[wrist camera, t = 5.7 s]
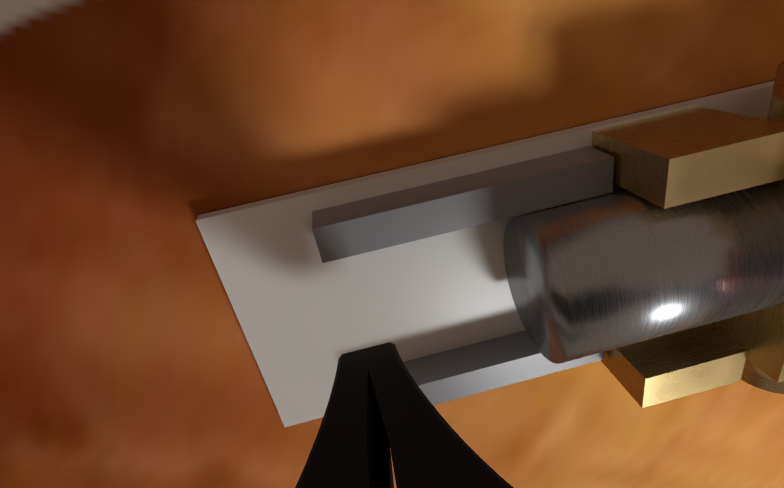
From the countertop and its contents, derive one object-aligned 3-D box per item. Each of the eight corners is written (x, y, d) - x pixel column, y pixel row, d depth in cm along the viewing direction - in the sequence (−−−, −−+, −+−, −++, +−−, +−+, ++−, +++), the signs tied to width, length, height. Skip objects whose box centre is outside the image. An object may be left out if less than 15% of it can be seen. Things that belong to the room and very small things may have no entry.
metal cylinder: (688, 285, 15) (815, 328, 11) (516, 330, 14) (581, 392, 10) (677, 165, 14) (808, 165, 10) (494, 210, 13) (556, 227, 10)
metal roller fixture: (776, 288, 17) (819, 311, 15) (285, 418, 16) (283, 456, 14) (834, 66, 13) (898, 70, 12) (198, 214, 12) (183, 240, 11)
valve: (779, 311, 17) (961, 421, 12) (586, 363, 16) (697, 498, 12) (854, 38, 12) (1186, 43, 8) (593, 98, 12) (776, 143, 7)
